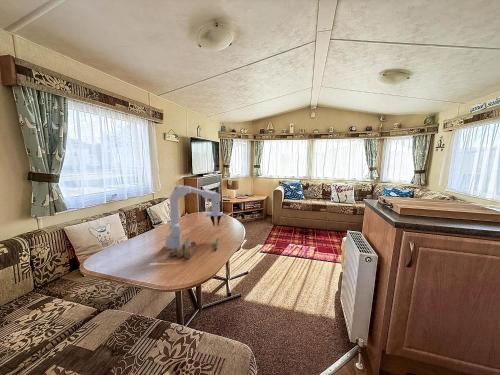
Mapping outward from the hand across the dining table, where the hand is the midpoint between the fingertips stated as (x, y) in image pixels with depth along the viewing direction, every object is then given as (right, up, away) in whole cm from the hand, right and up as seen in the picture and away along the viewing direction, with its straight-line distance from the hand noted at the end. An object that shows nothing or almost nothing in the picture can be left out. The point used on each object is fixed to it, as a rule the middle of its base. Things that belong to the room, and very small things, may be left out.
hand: (216, 225), depth 154 cm
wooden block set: (-15, -11, -31) cm, 36 cm away
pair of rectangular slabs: (-8, -12, -13) cm, 20 cm away
